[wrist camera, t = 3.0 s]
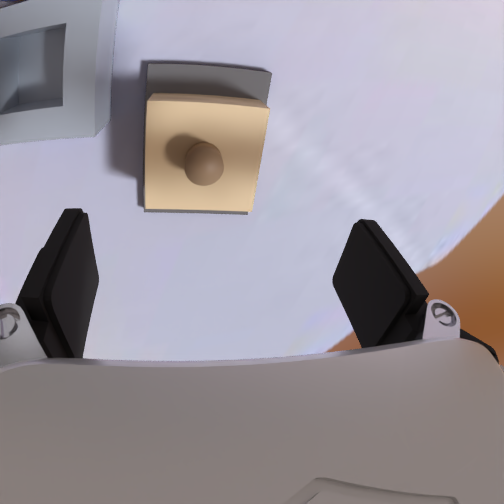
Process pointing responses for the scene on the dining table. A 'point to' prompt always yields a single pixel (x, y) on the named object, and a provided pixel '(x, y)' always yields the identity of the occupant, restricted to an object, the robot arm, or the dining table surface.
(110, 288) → the dining table surface
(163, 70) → the grey rectangular plate
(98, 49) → the grey square container
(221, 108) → the lid
